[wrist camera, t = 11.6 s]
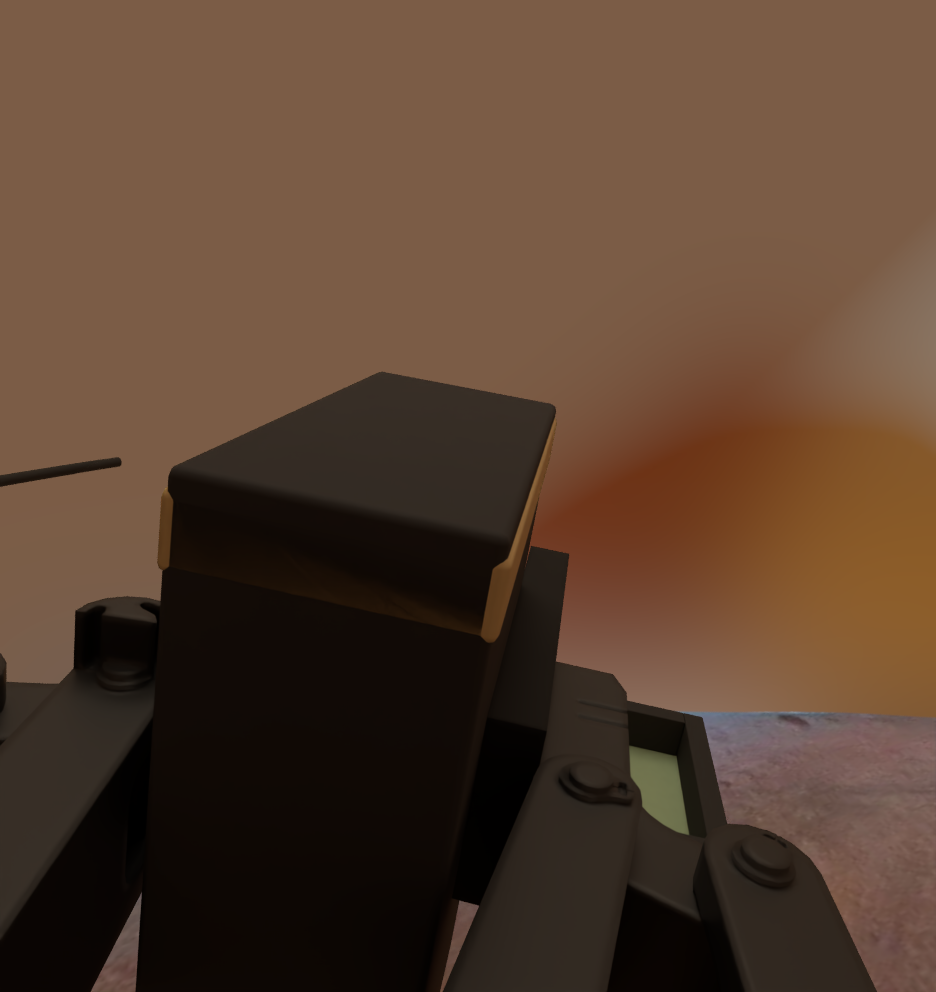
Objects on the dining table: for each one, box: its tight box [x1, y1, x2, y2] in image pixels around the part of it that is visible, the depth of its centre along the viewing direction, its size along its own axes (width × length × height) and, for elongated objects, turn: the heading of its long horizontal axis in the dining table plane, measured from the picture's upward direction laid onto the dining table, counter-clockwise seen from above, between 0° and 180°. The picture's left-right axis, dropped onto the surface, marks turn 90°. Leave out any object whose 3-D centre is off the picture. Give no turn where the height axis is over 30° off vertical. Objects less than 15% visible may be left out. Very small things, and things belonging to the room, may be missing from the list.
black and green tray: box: [627, 701, 727, 844], centre depth 39 cm, size 11×8×4 cm
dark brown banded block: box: [136, 372, 557, 992], centre depth 12 cm, size 7×3×11 cm, turn 171°
